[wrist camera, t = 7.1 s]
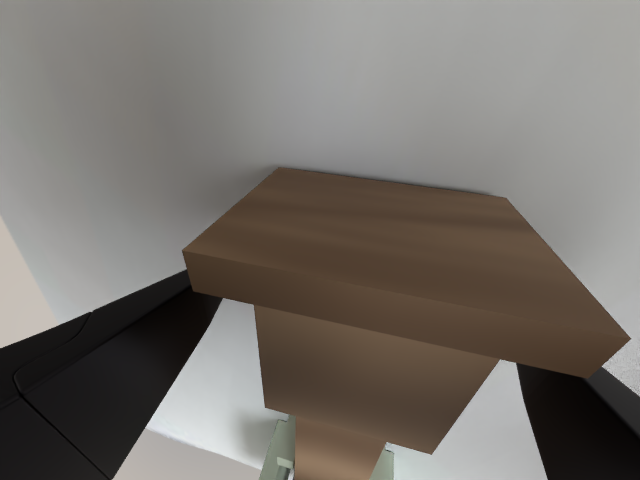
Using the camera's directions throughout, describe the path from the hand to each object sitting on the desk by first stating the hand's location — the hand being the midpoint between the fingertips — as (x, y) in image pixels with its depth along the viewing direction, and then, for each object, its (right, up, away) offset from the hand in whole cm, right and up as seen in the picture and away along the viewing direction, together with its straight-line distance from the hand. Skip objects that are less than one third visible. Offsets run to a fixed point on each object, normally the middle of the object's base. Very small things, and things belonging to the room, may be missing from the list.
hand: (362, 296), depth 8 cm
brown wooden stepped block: (0, -4, +5) cm, 7 cm away
